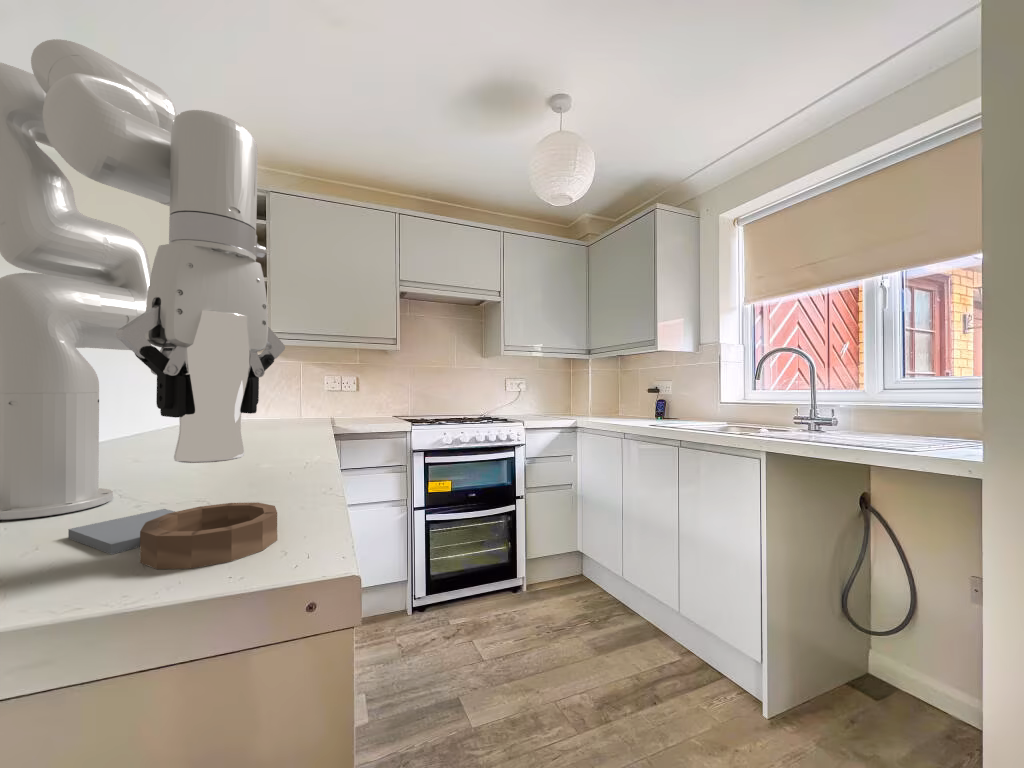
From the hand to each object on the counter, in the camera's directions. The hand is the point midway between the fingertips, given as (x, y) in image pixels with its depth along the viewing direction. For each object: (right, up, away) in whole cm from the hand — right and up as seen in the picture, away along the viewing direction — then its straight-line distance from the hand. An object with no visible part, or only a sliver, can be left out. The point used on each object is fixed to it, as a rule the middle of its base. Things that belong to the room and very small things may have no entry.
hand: (211, 413), depth 46 cm
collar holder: (0, -14, 0) cm, 14 cm away
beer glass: (0, -5, 0) cm, 5 cm away
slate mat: (-10, -14, +4) cm, 18 cm away
